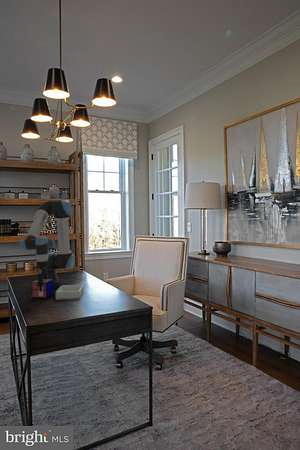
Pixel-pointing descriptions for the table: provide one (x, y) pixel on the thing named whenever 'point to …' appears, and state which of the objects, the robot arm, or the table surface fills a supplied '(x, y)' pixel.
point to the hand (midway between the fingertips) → (43, 293)
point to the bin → (69, 292)
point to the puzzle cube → (47, 288)
